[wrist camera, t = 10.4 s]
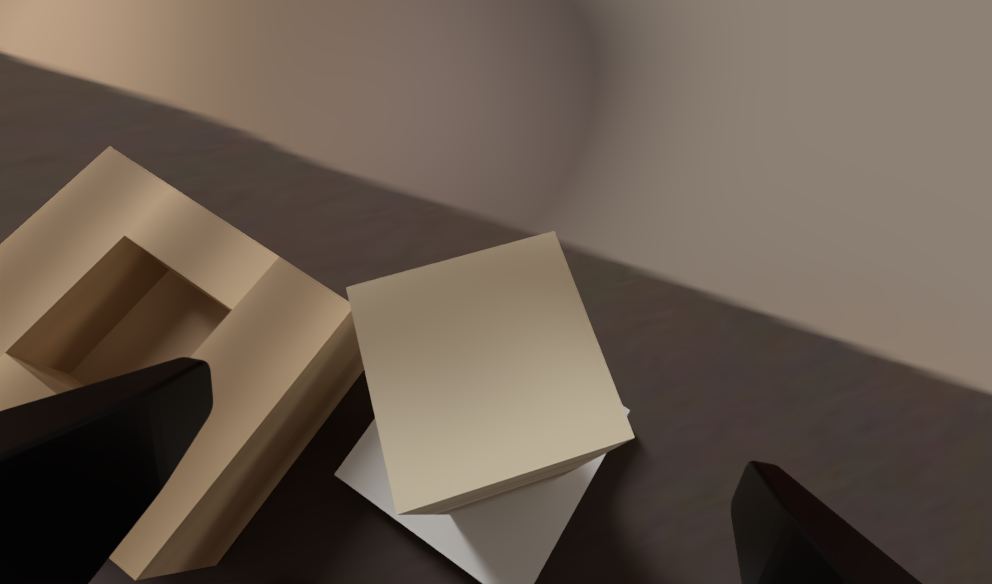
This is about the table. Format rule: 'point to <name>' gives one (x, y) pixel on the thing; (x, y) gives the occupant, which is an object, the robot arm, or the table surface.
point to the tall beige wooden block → (484, 376)
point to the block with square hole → (175, 343)
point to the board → (480, 517)
